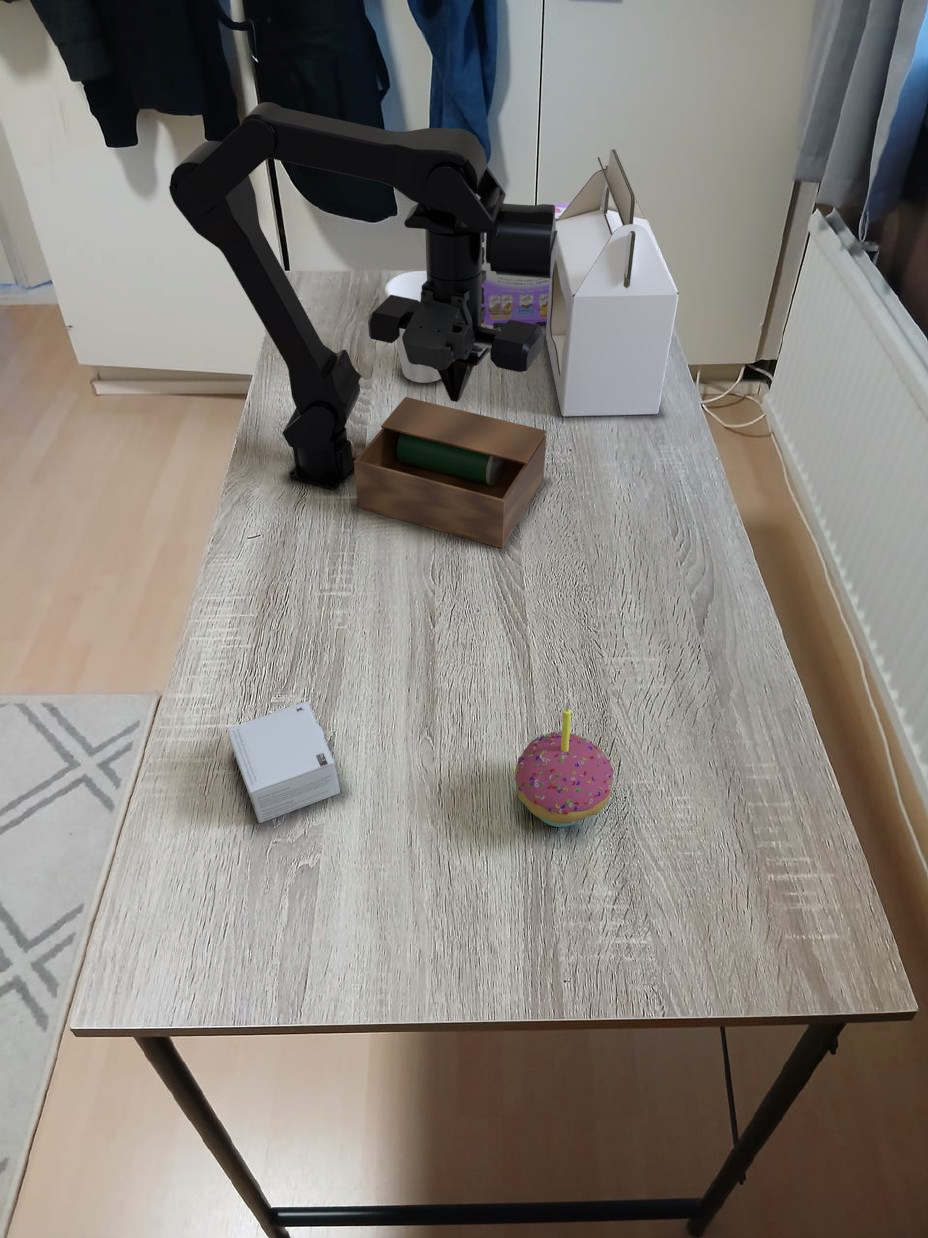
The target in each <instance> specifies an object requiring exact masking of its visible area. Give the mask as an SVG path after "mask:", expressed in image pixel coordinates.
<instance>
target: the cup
mask: <svg viewBox="0 0 928 1238" xmlns="http://www.w3.org/2000/svg"><path fill="white" fill-rule="evenodd" d="M426 281H427V270H414V271H408V272H403V273H400V274H398V275H397V276H394V277H392V278H391V279H390V280H389V281H388V282H387V283H386V284H385V286H384V297H385V300H386V299H387V298H388V297H389V296H390V295H395V296H400V297H405V298H410V299H414V300H418V301H419V302H420V300H421V291H422V285H423V284H424V283H425V282H426ZM405 330H406V329H401V328H400V336H399V338H398V339H396V340H395V343H396V348H397V352H398V356H399V361H400V365H401V370H402V374H403V376H404V377H405V378H406V379H407V380H409V381H412V382H415V383H423V384H425V383H429V384H430V383H433V382H437V381H439V380H442V379H441V377H440V374H439V372H438V370H436V369H434V368H432V367H428V366H424V365H419V364H418V365H414V364H411V363H410V362H409V361H408V358H407V355H406V351H405V348H404V344H403V341H402V336H403V333H404V332H405Z"/></svg>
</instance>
